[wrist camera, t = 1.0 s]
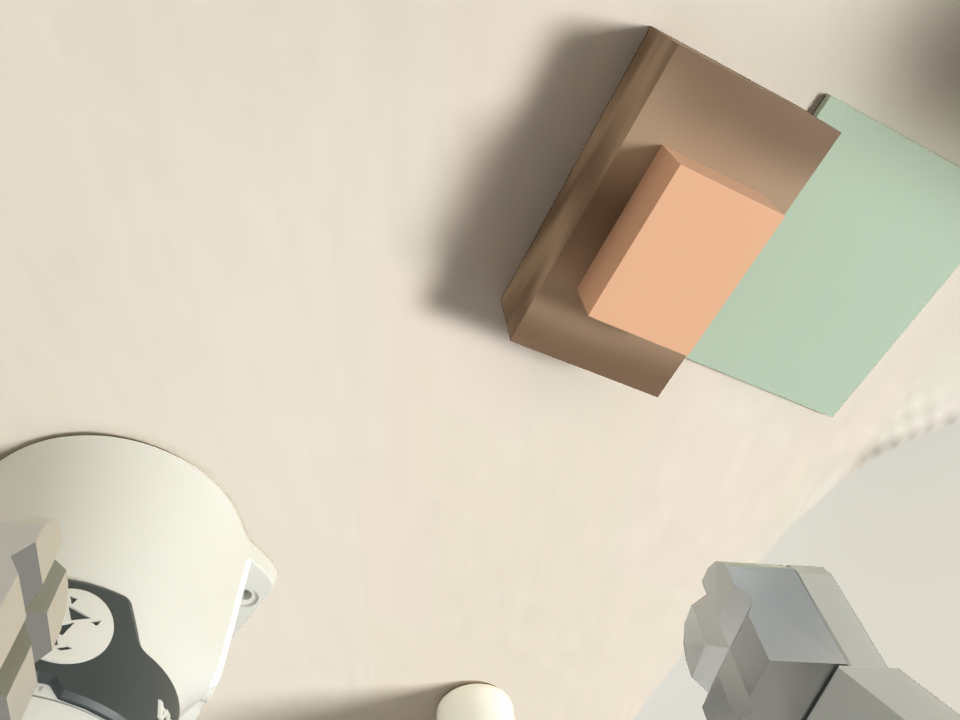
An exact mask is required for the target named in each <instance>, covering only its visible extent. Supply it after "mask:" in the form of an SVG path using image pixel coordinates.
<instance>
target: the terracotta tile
mask: <svg viewBox="0 0 960 720" xmlns="http://www.w3.org/2000/svg"><path fill="white" fill-rule="evenodd" d="M784 217H785V215H784V214H783V213H782V212H781V211H780V210H778V209H777V208H776V207H775V206H774V205H773V204H772V203H771V202H770V201H769V200H768V199H766V198H765V197H764V196H763V195H762V194H761V193H759V192H757V191H755V190H753V189H751V188H749V187H747V186H745V185H743V184H741V183H739V182H737V181H735V180H733V179H731V178H728V177H726V176H724V175H722V174H720V173H718V172H716V171H714V170H712V169H710V168H708V167H706V166H704V165H702V164H700V163H698V162H696V161H694V160H692V159H690V158H688V157H686V156H684V155H682V154H680V153H678V152H676V151H674V150H672V149H670V148H668V147H666V146H664V145H662V146H661V148H660V149H659V151H658V153H657V154H656V156H655V158H654V159H653V161H652V163H651V164H650V166H649V168H648V169H647V171H646V173H645V175H644V176H643V178H642V180H641V181H640V183H639V185H638V186H637V188H636V190H635V191H634V193H633V195H632V196H631V198H630V200H629V201H628V203H627V205H626V207H625V208H624V210H623V212H622V213H621V215H620V217H619V218H618V220H617V222H616V223H615V225H614V227H613V228H612V230H611V232H610V234H609V235H608V237H607V239H606V240H605V242H604V244H603V245H602V247H601V249H600V250H599V252H598V254H597V255H596V257H595V259H594V261H593V262H592V264H591V266H590V267H589V269H588V271H587V272H586V274H585V276H584V277H583V279H582V281H581V282H580V284H579V286H578V287H577V290H578V293H579V295H580V298H581V300H582V303H583V305H584V307H585V310H586V312H587V315H588V316H590V317H592V318H595V319H597V320H599V321H602V322H604V323H607V324H609V325H612V326H614V327H617V328H619V329H622V330H624V331H626V332H629V333H631V334H634V335H636V336H639V337H641V338H644V339H646V340H649V341H651V342H653V343H656V344H658V345H661V346H663V347H666V348H668V349H671V350H673V351H676V352H678V353H680V354H683V355H685V356H688V355H689V354H690V352H691V351H692V349H693V348H694V346H695V345H696V344H697V342H698V341H699V339H700V338H701V336H702V335H703V334H704V332H705V331H706V329H707V328H708V326H709V325H710V324H711V322H712V321H713V319H714V318H715V316H716V315H717V314H718V312H719V311H720V309H721V308H722V306H723V305H724V303H725V302H726V301H727V299H728V298H729V296H730V295H731V293H732V292H733V291H734V289H735V288H736V286H737V285H738V283H739V282H740V281H741V279H742V278H743V276H744V275H745V273H746V272H747V270H748V269H749V268H750V266H751V265H752V263H753V262H754V260H755V259H756V258H757V256H758V255H759V253H760V252H761V250H762V249H763V248H764V246H765V245H766V243H767V242H768V240H769V239H770V237H771V236H772V235H773V233H774V232H775V230H776V229H777V227H778V226H779V225H780V223H781V222H782V220H783V219H784Z"/></svg>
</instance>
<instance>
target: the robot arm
mask: <svg viewBox="0 0 960 720" xmlns="http://www.w3.org/2000/svg"><path fill="white" fill-rule="evenodd" d="M276 578H277V570H276V568H275V566H274V565H273V563H272V562H271V561H270V560H269V559H268V558H267V557H266V556H265V555H264V554H263V553H262V552H261V551H260V550H259V549H257V548H256V547H255V546H254V545H253V544H252V543H251V542H250V541H249V539H248V537H247V535H246V533H245V531H244V529H243V526H242V524H241V521H240V518H239V516H238V514H237V512H236V510H235V508H234V506H233V505H232V503H231V502H230V500H229V499H228V497H227V496H226V495H225V494H224V492H223V491H222V490H221V489H220V488H219V487H218V486H217V485H216V484H215V483H214V482H213V481H212V480H211V479H210V478H209V477H208V476H206V475H205V474H204V473H203V472H201V471H200V470H199V469H197V468H196V467H194V466H193V465H191V464H189V463H188V462H186V461H184V460H183V459H181V458H179V457H177V456H175V455H173V454H171V453H169V452H166V451H164V450H161V449H159V448H156V447H154V446H150V445H147V444H144V443H140V442H137V441H133V440H128V439H123V438H117V437H109V436H96V435H78V436H66V437H59V438H53V439H48V440H45V441H41V442H37V443H34V444H31V445H29V446H26V447H24V448H22V449H19V450H18V451H16V452H14V453H12V454H10V455H9V456H7V457H5V458H4V459H2V460H0V720H196V719H197V717H198V715H199V713H200V710H201V707H202V705H203V702H208V701H209V699H210V698H211V696H212V694H213V692H214V690H215V687H216V685H217V683H218V681H219V679H220V677H221V674H222V671H223V667H224V664H225V660H226V656H227V652H228V649H229V645H230V641H231V639H232V638H233V637H234V636H235V634H236V633H237V632H238V631H239V630H240V628H241V627H242V626H243V625H244V624H245V623H246V621H247V620H248V619H249V618H250V617H251V615H252V614H253V613H254V612H255V611H256V610H257V608H258V607H259V606H260V605H261V604H262V602H263V601H264V600H265V599H266V598H267V597H268V595H269V594H270V593H271V592H272V590H273V588H274V584H275V581H276ZM702 583H703V586H704V588H705V591H706V593H707V595H705V596H704V597H703V598H701V599H700V600H698V601H697V602H695V603H694V604H693V605H691V608H690V611H689V613H688V616H687V619H686V621H685V627H684V642H683V644H684V651H685V657H686V661H687V665H688V668H689V671H690V674H691V676H692V678H693V679H694V680H695V681H697V682H698V683H699V684H700V685H701V686H702V687H703V688H704V689H705V690H706V691H707V692H708V694H707V697H706V699H705V702H704V704H703V707H702V708H703V710H704V714H705V716H706V719H707V720H960V715H959V714H958V713H957V712H956V711H954V710H953V709H952V708H950V707H949V706H948V705H946V704H945V703H944V702H942V701H941V700H940V699H938V698H937V697H936V696H934V695H933V694H932V693H931V692H929V691H928V690H926V689H925V688H924V687H922V686H921V685H920V684H919V683H917V682H916V681H915V680H913V679H912V678H911V677H909V676H908V675H907V674H905V673H904V672H903V671H902V670H900V669H895V668H888V667H887V665H886V663H885V662H884V660H883V658H882V657H881V655H880V653H879V652H878V650H877V648H876V647H875V645H874V643H873V642H872V640H871V638H870V637H869V635H868V633H867V632H866V630H865V628H864V627H863V625H862V623H861V622H860V620H859V618H858V617H857V615H856V614H855V612H854V610H853V608H852V607H851V605H850V604H849V602H848V600H847V599H846V597H845V595H844V594H843V592H842V590H841V589H840V587H839V585H838V584H837V582H836V580H835V579H834V577H833V576H832V574H831V573H830V572H828V571H827V570H826V569H825V568H823V567H813V566H793V565H787V566H783V565H774V564H772V565H771V564H756V563H738V562H720V561H716V562H714V563H713V564H712V565H711V566H710V567H709V568H708V569H707V572H706V574H705V576H704V578H703V580H702Z"/></svg>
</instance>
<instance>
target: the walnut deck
mask: <svg viewBox="0 0 960 720" xmlns="http://www.w3.org/2000/svg"><path fill="white" fill-rule="evenodd" d="M840 134H841V132H840V131H838V130H836V129H835V128H833V127H832V126H830V125H828V124H827V123H825V122H823V121H822V120H820V119H819V118H817V117H815V116H814V115H812V114H810V113H809V112H807V111H805V110H804V109H802V108H801V107H799V106H797V105H795V104H793V103H791V102H790V101H788V100H786V99H784V98H782V97H780V96H779V95H777V94H775V93H773V92H771V91H769V90H768V89H766V88H764V87H762V86H760V85H758V84H757V83H755V82H753V81H751V80H749V79H747V78H746V77H744V76H742V75H740V74H738V73H736V72H735V71H733V70H731V69H729V68H727V67H725V66H724V65H722V64H720V63H718V62H716V61H714V60H712V59H711V58H709V57H707V56H705V55H703V54H701V53H700V52H698V51H696V50H694V49H692V48H690V47H689V46H687V45H685V44H683V43H681V42H679V41H678V40H676V39H674V38H672V37H670V36H668V35H667V34H665V33H663V32H661V31H659V30H657V29H656V28H654V27H652V26H651V27H650V28H649V30H648V32H647V34H646V36H645V38H644V39H643V41H642V43H641V45H640V47H639V49H638V50H637V52H636V54H635V56H634V58H633V59H632V61H631V63H630V65H629V67H628V69H627V70H626V72H625V74H624V76H623V78H622V80H621V81H620V83H619V85H618V87H617V89H616V91H615V92H614V94H613V96H612V98H611V100H610V102H609V103H608V105H607V107H606V109H605V111H604V112H603V114H602V116H601V118H600V120H599V122H598V123H597V125H596V127H595V129H594V131H593V133H592V134H591V136H590V138H589V140H588V142H587V144H586V145H585V147H584V149H583V151H582V153H581V155H580V156H579V158H578V160H577V162H576V164H575V166H574V167H573V169H572V171H571V173H570V175H569V176H568V178H567V180H566V182H565V184H564V186H563V187H562V189H561V191H560V193H559V195H558V197H557V198H556V200H555V202H554V204H553V206H552V208H551V209H550V211H549V213H548V215H547V217H546V219H545V220H544V222H543V224H542V226H541V228H540V229H539V231H538V233H537V235H536V237H535V239H534V240H533V242H532V244H531V246H530V248H529V250H528V251H527V253H526V255H525V257H524V259H523V261H522V262H521V264H520V266H519V268H518V270H517V272H516V273H515V275H514V277H513V279H512V281H511V282H510V284H509V286H508V288H507V290H506V292H505V293H504V295H503V297H502V299H501V302H502V307H503V311H504V315H505V320H506V324H507V328H508V333H509V337H510V341H513V342H515V343H518V344H520V345H523V346H526V347H528V348H531V349H533V350H536V351H539V352H541V353H544V354H546V355H549V356H552V357H554V358H557V359H560V360H562V361H565V362H567V363H570V364H573V365H575V366H578V367H580V368H583V369H586V370H588V371H591V372H593V373H596V374H599V375H601V376H604V377H606V378H609V379H612V380H614V381H617V382H619V383H622V384H625V385H627V386H630V387H632V388H635V389H638V390H640V391H643V392H645V393H648V394H651V395H653V396H656V397H658V396H659V394H660V393H661V391H662V390H663V389H664V387H665V386H666V384H667V383H668V381H669V380H670V379H671V377H672V376H673V374H674V373H675V371H676V370H677V368H678V367H679V366H680V364H681V363H682V361H683V360H684V358H685V357H686V356H685V355H683V354H680V353H678V352H676V351H673V350H671V349H668V348H666V347H663V346H661V345H658V344H656V343H653V342H651V341H649V340H646V339H644V338H641V337H639V336H636V335H634V334H631V333H629V332H626V331H624V330H622V329H619V328H617V327H614V326H612V325H609V324H607V323H604V322H602V321H599V320H597V319H595V318H592V317H590V316H588V315H587V312H586V310H585V307H584V305H583V303H582V300H581V298H580V295H579V293H578V290H577V287H578V286H579V284H580V282H581V281H582V279H583V277H584V276H585V274H586V272H587V271H588V269H589V267H590V266H591V264H592V262H593V261H594V259H595V257H596V255H597V254H598V252H599V250H600V249H601V247H602V245H603V244H604V242H605V240H606V239H607V237H608V235H609V234H610V232H611V230H612V228H613V227H614V225H615V223H616V222H617V220H618V218H619V217H620V215H621V213H622V212H623V210H624V208H625V207H626V205H627V203H628V201H629V200H630V198H631V196H632V195H633V193H634V191H635V190H636V188H637V186H638V185H639V183H640V181H641V180H642V178H643V176H644V175H645V173H646V171H647V169H648V168H649V166H650V164H651V163H652V161H653V159H654V158H655V156H656V154H657V153H658V151H659V149H660V148H661V146H662V145H664V146H666V147H668V148H670V149H672V150H674V151H676V152H678V153H680V154H682V155H684V156H686V157H688V158H690V159H692V160H694V161H696V162H698V163H700V164H702V165H704V166H706V167H708V168H710V169H712V170H714V171H716V172H718V173H720V174H722V175H724V176H726V177H728V178H731V179H733V180H735V181H737V182H739V183H741V184H743V185H745V186H747V187H749V188H751V189H753V190H755V191H757V192H759V193H761V194H762V195H763V196H764V197H765V198H766V199H768V200H769V201H770V202H771V203H772V204H773V205H774V206H775V207H776V208H777V209H778V210H780V211H781V212H782V213H783V214H784V215H785V213H786V212H787V210H788V209H789V208H790V206H791V205H792V203H793V202H794V200H795V199H796V198H797V196H798V195H799V193H800V192H801V190H802V189H803V187H804V186H805V185H806V183H807V182H808V180H809V179H810V177H811V176H812V175H813V173H814V172H815V170H816V169H817V167H818V166H819V164H820V163H821V162H822V160H823V159H824V157H825V156H826V154H827V153H828V152H829V150H830V149H831V147H832V146H833V144H834V143H835V141H836V140H837V139H838V137H839V136H840Z"/></svg>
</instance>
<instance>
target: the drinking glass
mask: <svg viewBox="0 0 960 720" xmlns="http://www.w3.org/2000/svg"><path fill="white" fill-rule="evenodd" d="M436 720H515V716H514V709H513V705H512V702H511V700H510V698H509V696H508V695H507V694H506V693H505V692H504V691H503V690H501V689H499V688H498V687H495V686H492V685H488V684H480V683H476V684H467V685H463V686H460V687H458V688H455V689H453V690H452V691H450V692H449V693H447V694H446V695H445V696H444V697H443V698H442V700H441V701H440V703H439V705H438V707H437V712H436Z"/></svg>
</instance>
